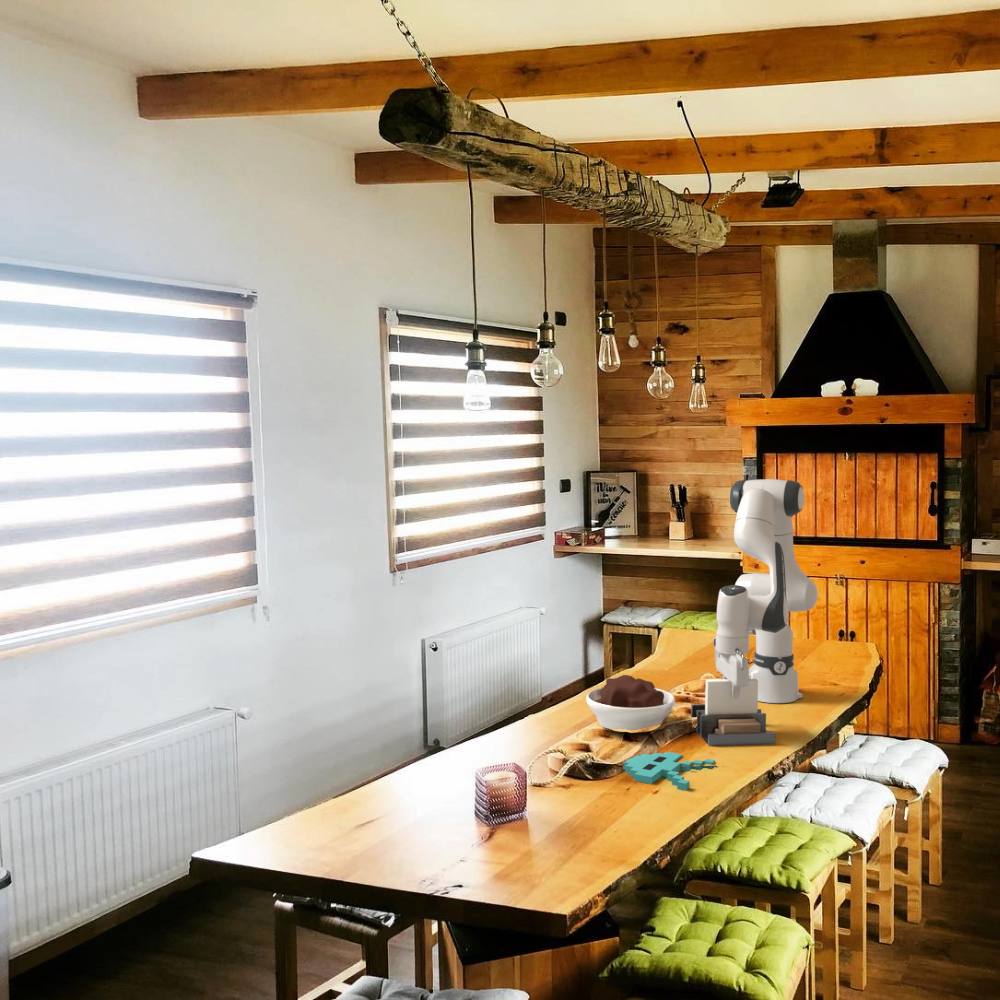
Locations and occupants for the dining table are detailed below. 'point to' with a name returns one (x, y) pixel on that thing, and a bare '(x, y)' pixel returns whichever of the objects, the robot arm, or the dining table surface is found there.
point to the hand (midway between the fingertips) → (731, 694)
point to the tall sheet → (730, 697)
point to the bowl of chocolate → (629, 703)
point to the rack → (710, 723)
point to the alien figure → (662, 768)
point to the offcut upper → (739, 726)
